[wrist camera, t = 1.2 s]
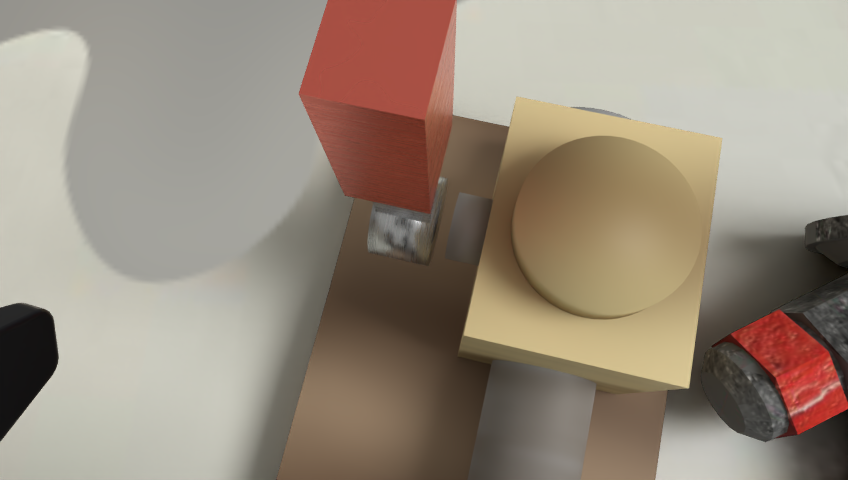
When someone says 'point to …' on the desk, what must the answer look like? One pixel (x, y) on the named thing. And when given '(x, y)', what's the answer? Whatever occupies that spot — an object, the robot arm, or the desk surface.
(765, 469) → the desk surface
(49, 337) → the robot arm
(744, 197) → the desk surface
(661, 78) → the desk surface
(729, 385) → the toy minigun
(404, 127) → the lever
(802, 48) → the desk surface
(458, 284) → the ball valve manifold
